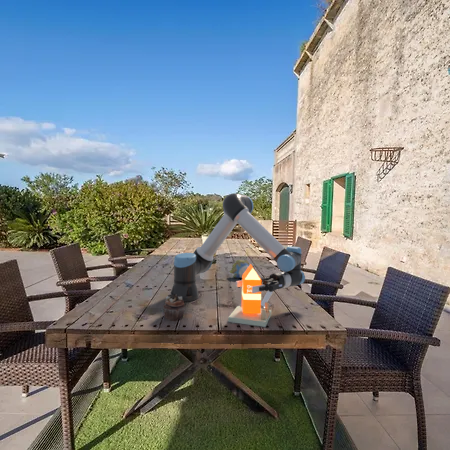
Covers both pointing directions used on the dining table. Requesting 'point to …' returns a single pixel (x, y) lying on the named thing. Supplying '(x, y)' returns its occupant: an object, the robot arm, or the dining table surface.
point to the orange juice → (250, 292)
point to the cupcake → (174, 307)
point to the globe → (239, 268)
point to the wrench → (266, 298)
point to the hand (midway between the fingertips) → (244, 286)
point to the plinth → (251, 316)
